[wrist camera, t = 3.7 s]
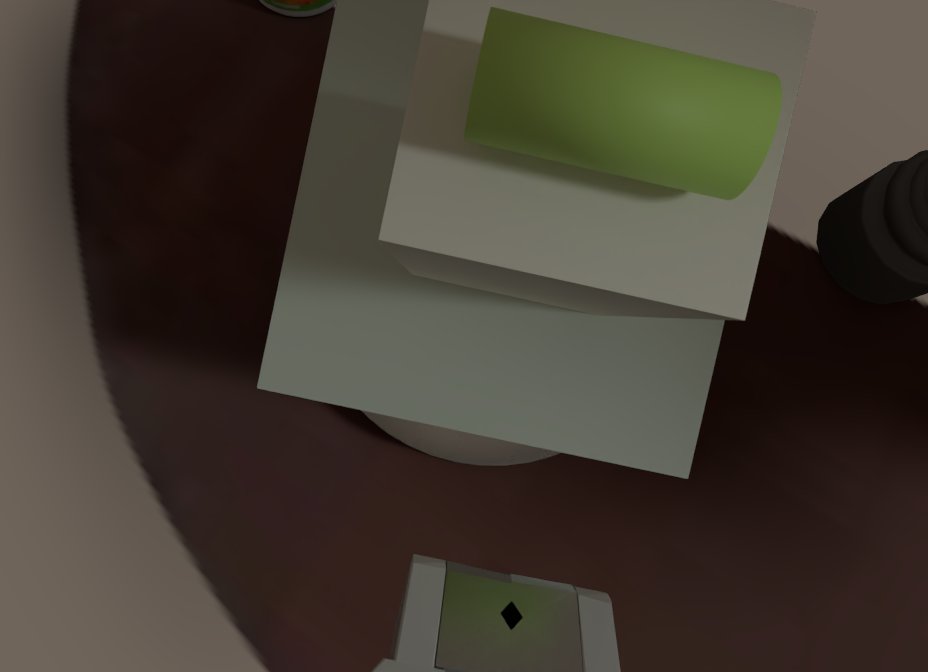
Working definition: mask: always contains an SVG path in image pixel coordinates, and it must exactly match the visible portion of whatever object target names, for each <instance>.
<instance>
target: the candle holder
mask: <svg viewBox="0 0 928 672" xmlns="http://www.w3.org/2000/svg"><path fill="white" fill-rule="evenodd" d="M816 243H817V246H818V250H819V253H820V257H821V260H822V263H823V266H824V267H825V269H826V270H827V271H828V273H829V274H830V275H831V277H832V278H833V280H834V281H835V282H836V284H837V285H838V286H839V287H841V288H842V289H844V290H845V291H847V292H848V293H850V294H851V295H853V296H854V297H856V298H857V299H859V300H864V301H868V302H872V303H876V304H880V305H884V304H890V303H896V302H902V301H906V300H909V299H912V298H915V297H918V296H921V295H924V294H927V293H928V150H926V151H921V152H919V153H917V154H916V155H914V156H913V157H911V158H910V159H908V160H905V161H898V162H893V163H891V164H890V165H888V166H887V167H885V168H883V169H882V170H880V171H879V172H877V173H875V174H874V175H872V176H871V177H869V178H868V179H866V180H864V181H863V182H861V183H860V184H858V185H857V186H855V187H853V188H852V189H850V190H849V191H847V192H845V193H844V194H842V195H841V196H839V197H838V198H836V199H835V200H833V201H832V202H830V203H829V205H828V206H827V208H826V210H825V211H824V213H823V215H822V216H821V218H820V220H819V223H818V234H817V242H816Z"/></svg>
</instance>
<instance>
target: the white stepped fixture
mask: <svg viewBox="0 0 928 672" xmlns="http://www.w3.org/2000/svg"><path fill="white" fill-rule="evenodd" d="M815 16H816V11H813V10H809V9H805V8H800V7H796V6H792V5H788V4H783V3H779V2H775V1H771V0H337V4H336V9H335V13H334V18H333V23H332V28H331V33H330V38H329V42H328V47H327V52H326V57H325V62H324V67H323V71H322V76H321V81H320V86H319V91H318V96H317V100H316V105H315V110H314V115H313V120H312V125H311V129H310V134H309V139H308V144H307V149H306V153H305V158H304V163H303V168H302V173H301V178H300V182H299V187H298V192H297V197H296V202H295V207H294V211H293V216H292V221H291V226H290V231H289V236H288V240H287V245H286V250H285V255H284V260H283V265H282V269H281V274H280V279H279V284H278V289H277V293H276V298H275V303H274V308H273V313H272V318H271V322H270V327H269V332H268V337H267V342H266V347H265V351H264V356H263V361H262V366H261V371H260V376H259V380H258V385H257V388H259V389H263V390H268V391H273V392H278V393H282V394H287V395H292V396H297V397H301V398H306V399H311V400H316V401H320V402H325V403H330V404H334V405H339V406H344V407H349V408H353V409H358V410H363V411H368V412H372V413H377V414H382V415H387V416H391V417H396V418H401V419H406V420H410V421H415V422H420V423H425V424H429V425H434V426H439V427H443V428H448V429H453V430H458V431H462V432H467V433H472V434H477V435H481V436H486V437H491V438H496V439H500V440H505V441H510V442H515V443H519V444H524V445H529V446H534V447H538V448H543V449H548V450H553V451H557V452H562V453H567V454H571V455H576V456H581V457H586V458H590V459H595V460H600V461H605V462H609V463H614V464H619V465H624V466H628V467H633V468H638V469H643V470H647V471H652V472H657V473H662V474H666V475H671V476H676V477H680V478H685V479H688V477H689V473H690V469H691V464H692V460H693V456H694V451H695V447H696V443H697V438H698V434H699V430H700V425H701V421H702V417H703V412H704V408H705V404H706V399H707V395H708V391H709V386H710V382H711V378H712V374H713V369H714V365H715V361H716V356H717V352H718V348H719V343H720V339H721V335H722V330H723V326H724V322H725V320H742V321H745V318H746V314H747V310H748V305H749V301H750V297H751V292H752V288H753V284H754V279H755V275H756V271H757V267H758V262H759V258H760V254H761V249H762V245H763V241H764V236H765V232H766V228H767V224H768V219H769V215H770V211H771V206H772V202H773V198H774V193H775V189H776V184H777V180H778V176H779V172H780V167H781V163H782V159H783V154H784V150H785V146H786V142H787V137H788V133H789V129H790V124H791V120H792V116H793V112H794V107H795V103H796V98H797V94H798V90H799V86H800V81H801V77H802V73H803V68H804V64H805V60H806V55H807V51H808V47H809V43H810V38H811V34H812V29H813V26H814V21H815Z"/></svg>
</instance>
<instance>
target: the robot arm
mask: <svg viewBox="0 0 928 672" xmlns="http://www.w3.org/2000/svg"><path fill="white" fill-rule="evenodd" d="M371 672H620V665H619V657H618V650H617V642H616V635H615V627H614V620H613V612H612V605H611V600H610V598H609V596H608V594H607V593H605V592H600V591H595V590H589V589H584V588H579V587H573V586H572V585H568V584H563V583H557V582H552V581H546V580H541V579H536V578H530V577H525V576H519V575H514V574H509V575H507V574H502V573H498V572H493V571H489V570H484V569H480V568H476V567H471V566H467V565H462V564H458V563H454V562H449V561H447V562H446V561H445V560H440V559H435V558H430V557H426V556H421V555H416V554H413V556H412V559H411V563H410V567H409V571H408V575H407V579H406V583H405V588H404V592H403V596H402V600H401V604H400V609H399V613H398V618H397V622H396V626H395V631H394V636H393V642H392V647H391V652H390V658H389V659H386V658H383V659H382V661H381V662H380V663H379V664H378V665H377V666H376V667H375V668H374V669H373V670H372V671H371Z"/></svg>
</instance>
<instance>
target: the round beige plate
mask: <svg viewBox="0 0 928 672" xmlns="http://www.w3.org/2000/svg"><path fill="white" fill-rule="evenodd" d="M361 411H362V412H363V413H364V414H365V415H366V416H367V417H368V418H369V419H370V420H371V421H372V422H374V423H375V424H376V425H377V426H379V427H380V428H381V429H382V430H384V431H385V432H386V433H387V434H389V435H390V436H392V437H394V438H395V439H397V440H399V441H400V442H402V443H404V444H405V445H407V446H409V447H411V448H413V449H415V450H418V451H420V452H422V453H425V454H427V455H429V456H432V457H436V458H440V459H443V460H447V461H450V462H455V463H462V464H469V465H488V466H506V465H513V464H521V463H529V462H533V461H537V460H540V459H544V458H548V457H551V456H554V455H557V454H559V453H562V452H557V451H553V450H548V449H543V448H538V447H534V446H529V445H524V444H519V443H515V442H510V441H505V440H500V439H496V438H491V437H486V436H481V435H477V434H472V433H467V432H462V431H458V430H453V429H448V428H443V427H439V426H434V425H429V424H425V423H420V422H415V421H410V420H406V419H401V418H396V417H391V416H387V415H382V414H377V413H372V412H368V411H363V410H361Z"/></svg>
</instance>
